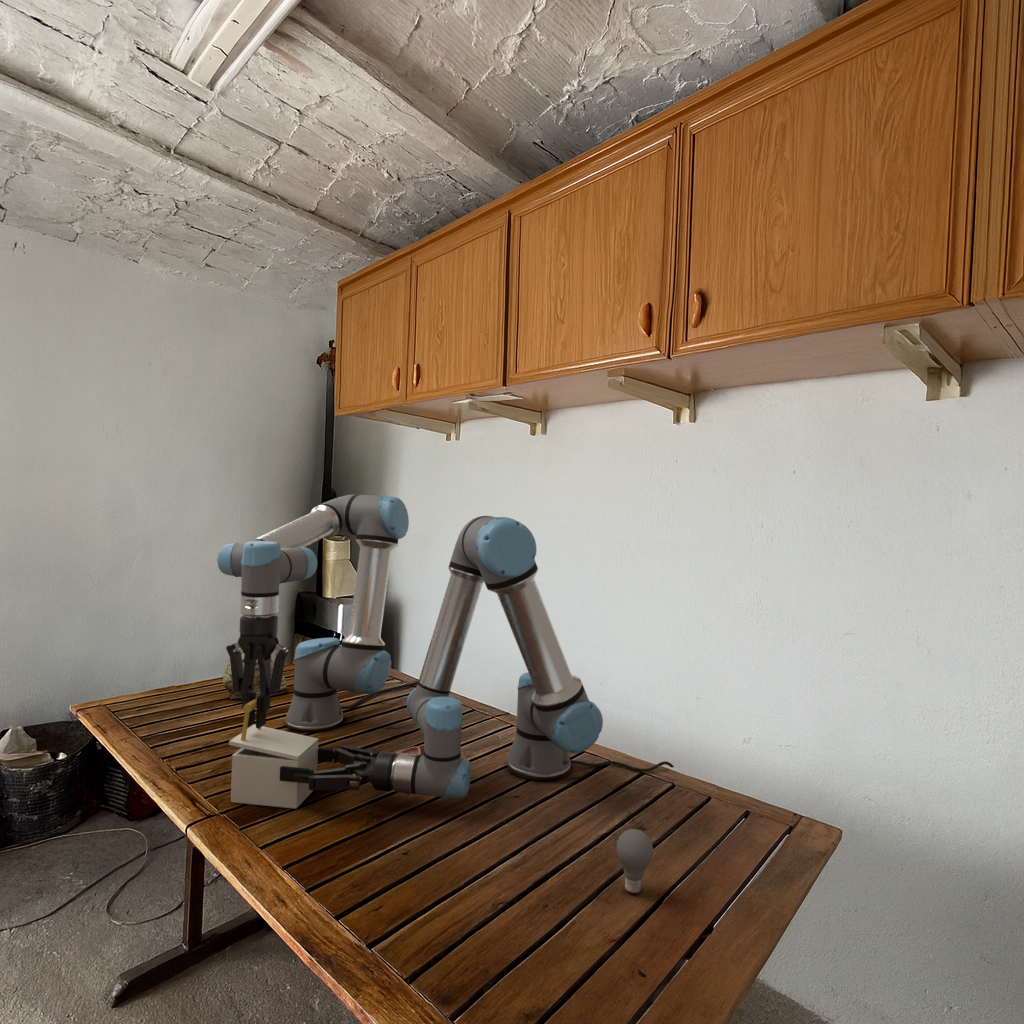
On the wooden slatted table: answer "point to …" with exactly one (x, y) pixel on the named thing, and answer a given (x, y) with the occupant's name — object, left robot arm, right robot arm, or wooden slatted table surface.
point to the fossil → (256, 684)
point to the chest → (268, 778)
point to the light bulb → (634, 857)
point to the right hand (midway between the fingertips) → (292, 762)
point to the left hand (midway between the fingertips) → (255, 725)
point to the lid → (271, 739)
